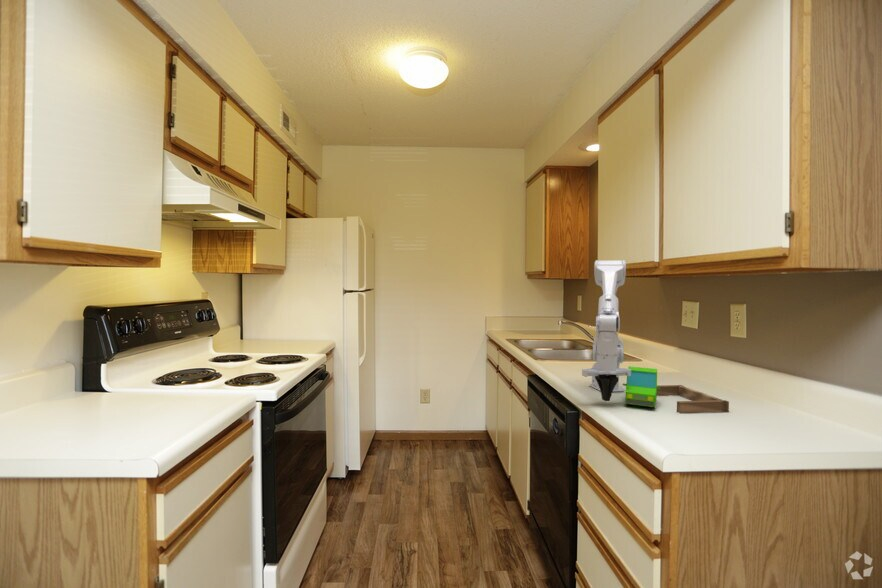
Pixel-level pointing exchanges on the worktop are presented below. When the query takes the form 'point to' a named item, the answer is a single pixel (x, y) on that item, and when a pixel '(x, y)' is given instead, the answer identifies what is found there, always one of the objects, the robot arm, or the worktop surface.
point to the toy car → (641, 387)
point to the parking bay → (693, 400)
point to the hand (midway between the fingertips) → (605, 400)
